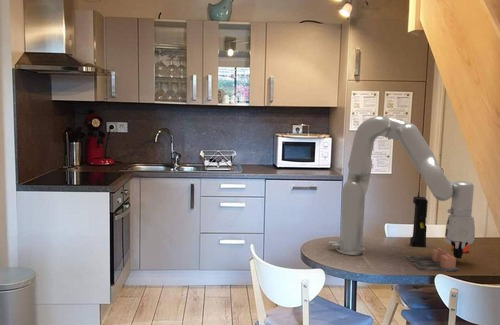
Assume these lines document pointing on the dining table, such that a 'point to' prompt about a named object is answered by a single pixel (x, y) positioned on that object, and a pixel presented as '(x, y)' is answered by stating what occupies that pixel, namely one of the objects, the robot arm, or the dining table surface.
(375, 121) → the robot arm
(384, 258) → the dining table surface
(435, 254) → the tab far
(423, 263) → the switch board
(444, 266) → the pink block
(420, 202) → the portable radio
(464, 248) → the clementine
